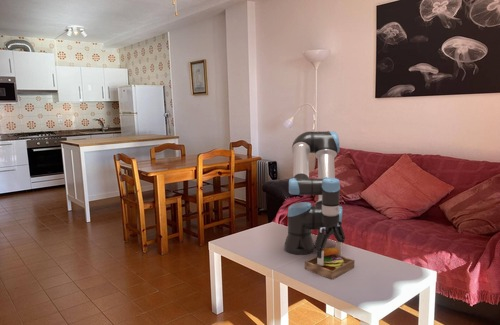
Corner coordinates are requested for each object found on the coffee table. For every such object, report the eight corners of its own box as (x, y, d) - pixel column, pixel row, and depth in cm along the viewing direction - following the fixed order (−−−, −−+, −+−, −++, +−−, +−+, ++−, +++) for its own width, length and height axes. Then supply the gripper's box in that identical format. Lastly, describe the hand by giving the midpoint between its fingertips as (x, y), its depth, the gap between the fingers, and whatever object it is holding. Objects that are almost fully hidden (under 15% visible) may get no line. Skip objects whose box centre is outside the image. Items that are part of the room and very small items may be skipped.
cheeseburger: (329, 274, 161) (326, 250, 162) (315, 270, 171) (312, 248, 172) (348, 269, 166) (345, 246, 166) (333, 265, 175) (330, 244, 176)
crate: (304, 268, 169) (304, 261, 169) (327, 258, 180) (327, 251, 180) (332, 279, 159) (332, 271, 158) (354, 267, 170) (354, 260, 169)
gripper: (320, 222, 154) (319, 271, 158) (353, 209, 171) (352, 254, 175) (305, 218, 160) (305, 265, 163) (339, 206, 177) (338, 249, 180)
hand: (329, 260), depth 169 cm, fingers open, 13 cm apart
